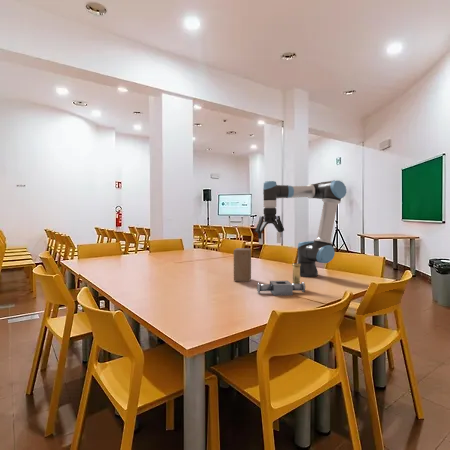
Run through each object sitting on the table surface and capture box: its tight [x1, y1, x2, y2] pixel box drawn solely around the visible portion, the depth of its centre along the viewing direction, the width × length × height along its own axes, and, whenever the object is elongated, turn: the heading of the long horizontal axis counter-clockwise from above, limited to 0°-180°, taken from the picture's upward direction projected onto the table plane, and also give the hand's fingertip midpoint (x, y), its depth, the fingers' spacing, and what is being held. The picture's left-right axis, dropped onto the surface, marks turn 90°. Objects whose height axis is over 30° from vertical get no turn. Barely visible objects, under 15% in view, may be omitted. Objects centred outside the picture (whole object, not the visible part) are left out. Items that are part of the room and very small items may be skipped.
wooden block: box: [233, 247, 252, 283], centre depth 197 cm, size 10×10×20 cm
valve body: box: [256, 280, 306, 297], centre depth 165 cm, size 25×10×6 cm, turn 93°
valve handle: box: [291, 262, 301, 284], centre depth 175 cm, size 5×5×14 cm
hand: (270, 243), depth 183 cm, fingers open, 13 cm apart
